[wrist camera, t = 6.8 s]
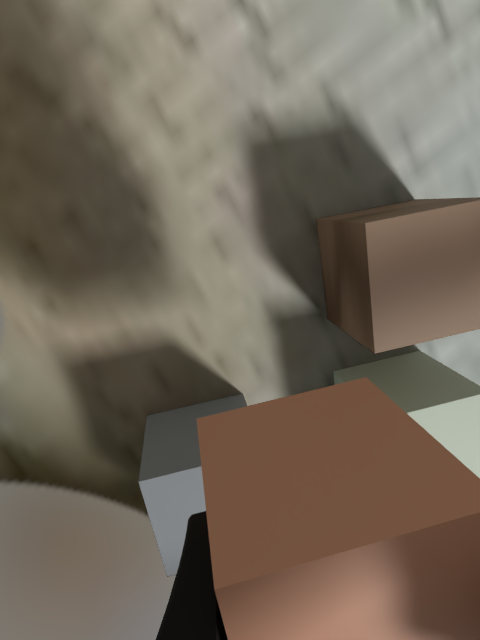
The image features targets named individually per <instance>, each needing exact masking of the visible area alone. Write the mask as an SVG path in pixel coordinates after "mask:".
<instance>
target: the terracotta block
mask: <svg viewBox="0 0 480 640" xmlns="http://www.w3.org/2000/svg"><path fill="white" fill-rule="evenodd" d="M197 429H198V438H199V448H200V457H201V467H202V476H203V486H204V495H205V505H206V514H207V524H208V533H209V543H210V552H211V562H212V572H213V581H214V590H215V594H216V597H217V601H218V605H219V609H220V612H221V616H222V620H223V623H224V627H225V631H226V635H227V638H228V640H480V478H479V477H478V476H476V475H475V474H474V473H473V472H472V471H471V470H470V469H469V468H467V467H466V466H465V465H464V464H463V463H462V462H461V461H460V460H458V459H457V458H456V457H455V456H454V455H453V454H452V453H451V452H450V451H448V450H447V449H446V448H445V447H444V446H443V445H442V444H441V443H439V442H438V441H437V440H436V439H435V438H434V437H433V436H432V435H430V434H429V433H428V432H427V431H426V430H425V429H424V428H423V427H421V426H420V425H419V424H418V423H417V422H416V421H415V420H414V419H412V418H411V417H410V416H409V415H408V414H407V413H406V412H405V411H404V410H402V409H401V408H400V407H399V406H398V405H397V404H396V403H395V402H393V401H392V400H391V399H390V398H389V397H388V396H387V395H386V394H384V393H383V392H382V391H381V390H380V389H379V388H378V387H377V386H375V385H374V384H373V383H372V382H371V381H370V380H369V379H368V378H367V377H365V378H361V379H357V380H353V381H348V382H344V383H340V384H336V385H332V386H328V387H324V388H320V389H316V390H312V391H308V392H303V393H299V394H295V395H291V396H287V397H283V398H279V399H275V400H271V401H267V402H263V403H258V404H254V405H250V406H246V407H242V408H238V409H234V410H230V411H226V412H222V413H218V414H214V415H209V416H205V417H201V418H197Z"/></svg>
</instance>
